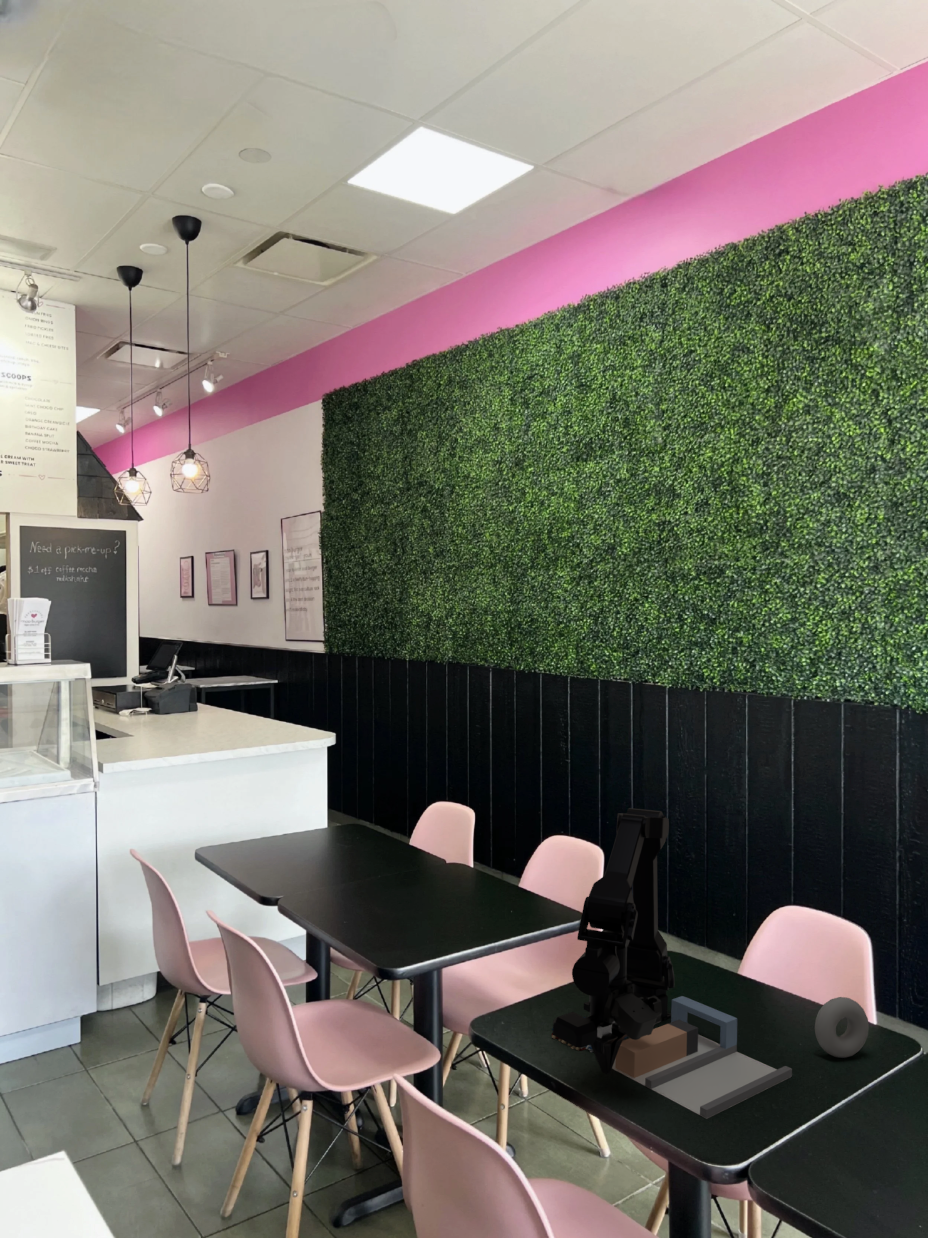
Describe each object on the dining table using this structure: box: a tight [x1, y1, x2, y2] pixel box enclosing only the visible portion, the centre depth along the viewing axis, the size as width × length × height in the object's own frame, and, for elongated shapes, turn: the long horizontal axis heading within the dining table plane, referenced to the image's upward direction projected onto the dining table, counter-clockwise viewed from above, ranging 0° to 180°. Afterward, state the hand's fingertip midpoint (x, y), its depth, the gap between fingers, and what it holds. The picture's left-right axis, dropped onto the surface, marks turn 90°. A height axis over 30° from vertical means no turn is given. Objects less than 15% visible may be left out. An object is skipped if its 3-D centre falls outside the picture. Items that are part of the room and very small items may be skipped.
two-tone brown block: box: [615, 1020, 699, 1078], centre depth 148 cm, size 4×16×4 cm, turn 128°
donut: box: [814, 996, 870, 1059], centre depth 153 cm, size 10×3×10 cm, turn 105°
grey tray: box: [612, 995, 793, 1120], centre depth 146 cm, size 22×22×6 cm
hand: (606, 1073), depth 141 cm, fingers closed
